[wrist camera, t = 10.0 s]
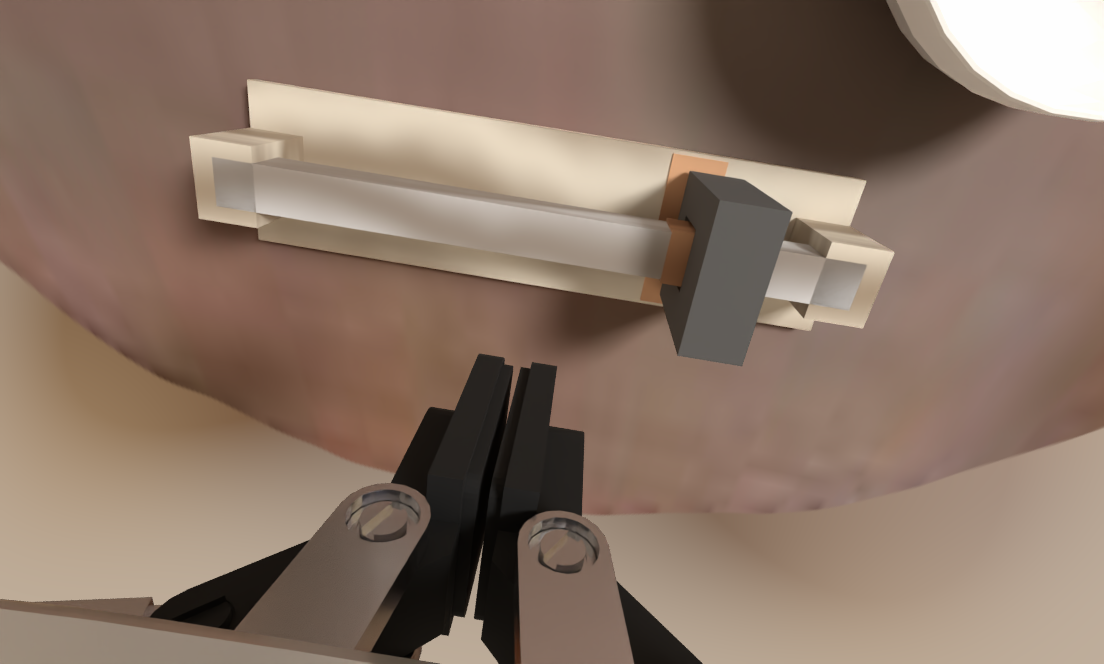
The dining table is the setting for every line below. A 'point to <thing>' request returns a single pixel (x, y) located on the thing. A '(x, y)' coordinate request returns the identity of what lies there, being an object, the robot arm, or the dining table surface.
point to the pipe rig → (516, 201)
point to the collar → (724, 267)
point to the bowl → (1015, 50)
